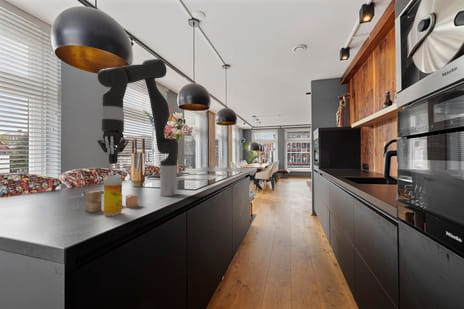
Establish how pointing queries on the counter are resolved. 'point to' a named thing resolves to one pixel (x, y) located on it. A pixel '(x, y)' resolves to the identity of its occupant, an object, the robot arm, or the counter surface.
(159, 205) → the counter surface
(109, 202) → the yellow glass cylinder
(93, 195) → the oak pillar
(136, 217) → the counter surface
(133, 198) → the pinkish brown block
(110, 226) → the counter surface
